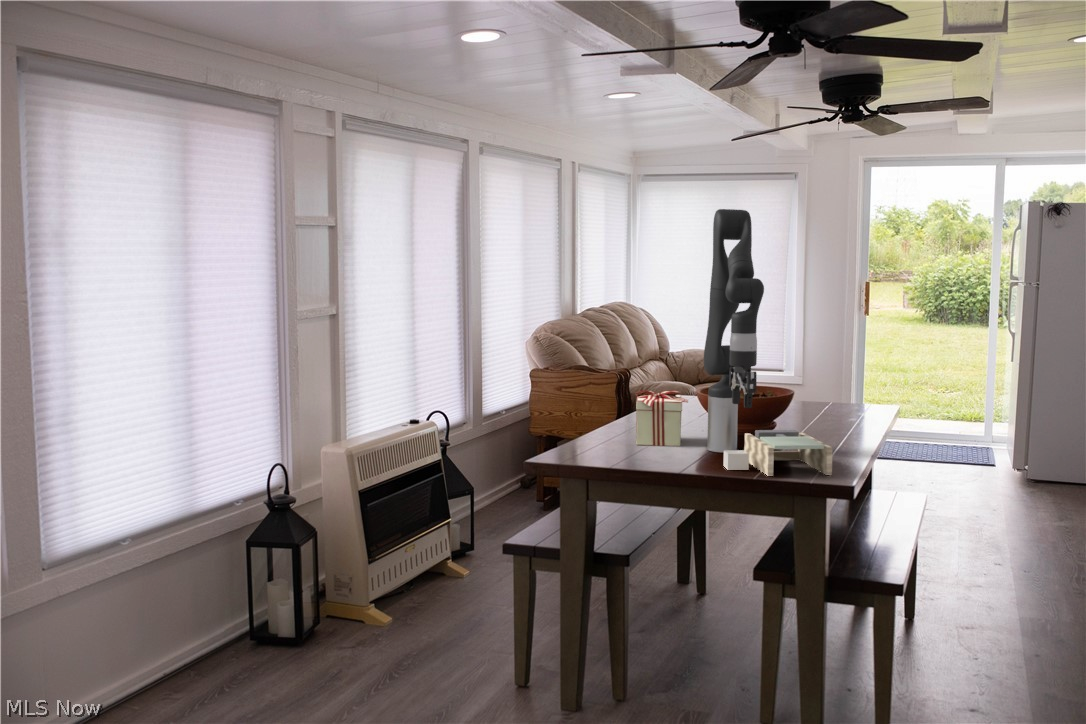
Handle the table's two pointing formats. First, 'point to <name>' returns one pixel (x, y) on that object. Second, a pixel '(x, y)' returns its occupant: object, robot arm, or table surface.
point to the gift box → (658, 418)
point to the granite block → (736, 460)
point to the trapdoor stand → (786, 455)
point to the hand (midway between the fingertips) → (741, 405)
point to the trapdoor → (787, 439)
